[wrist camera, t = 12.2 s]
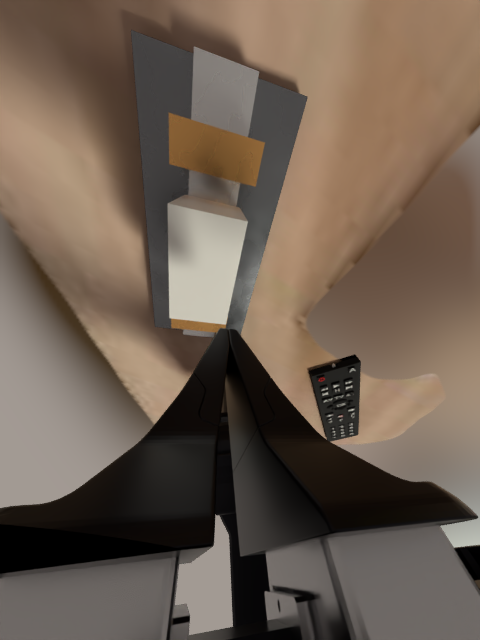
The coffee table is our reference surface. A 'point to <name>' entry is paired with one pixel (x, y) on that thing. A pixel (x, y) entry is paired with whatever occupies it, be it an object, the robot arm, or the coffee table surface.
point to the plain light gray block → (203, 257)
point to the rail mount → (210, 155)
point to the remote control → (338, 397)
